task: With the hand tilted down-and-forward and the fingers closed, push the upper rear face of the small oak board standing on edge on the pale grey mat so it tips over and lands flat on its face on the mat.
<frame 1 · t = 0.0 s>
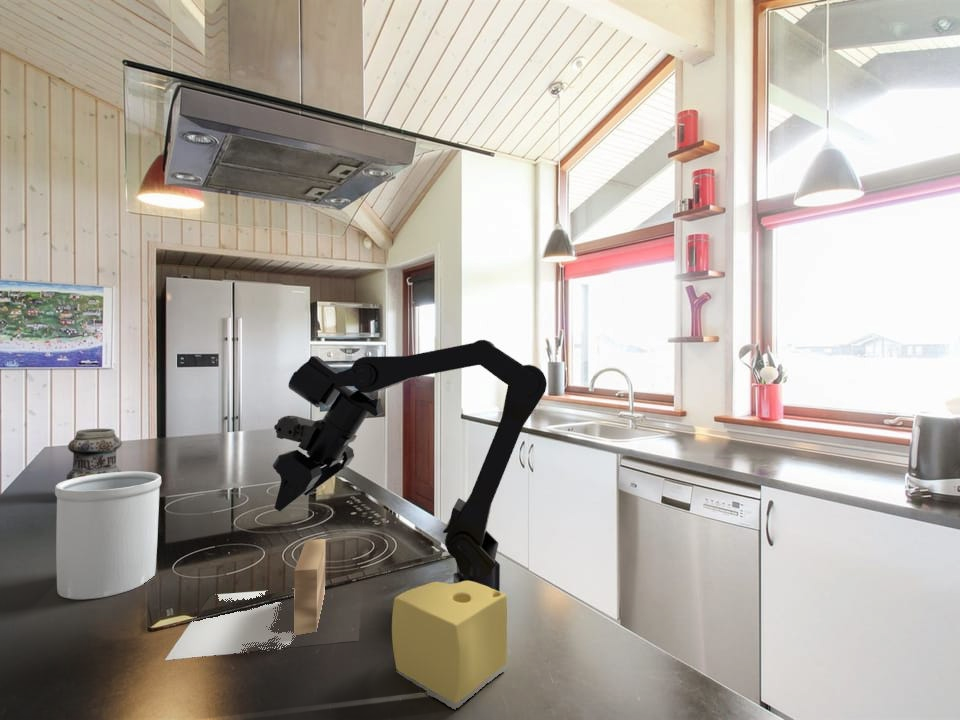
hand: (291, 501, 85), 15 cm above the countertop, tool tilted 35°, fingers open, 9 cm apart
utensil holder: (110, 582, 88), on the countertop
oak board: (310, 613, 77), resting on mat
apothecary jar: (94, 496, 141), on the countertop
mat: (278, 619, 76), on the countertop
cheese: (451, 677, 63), on the countertop
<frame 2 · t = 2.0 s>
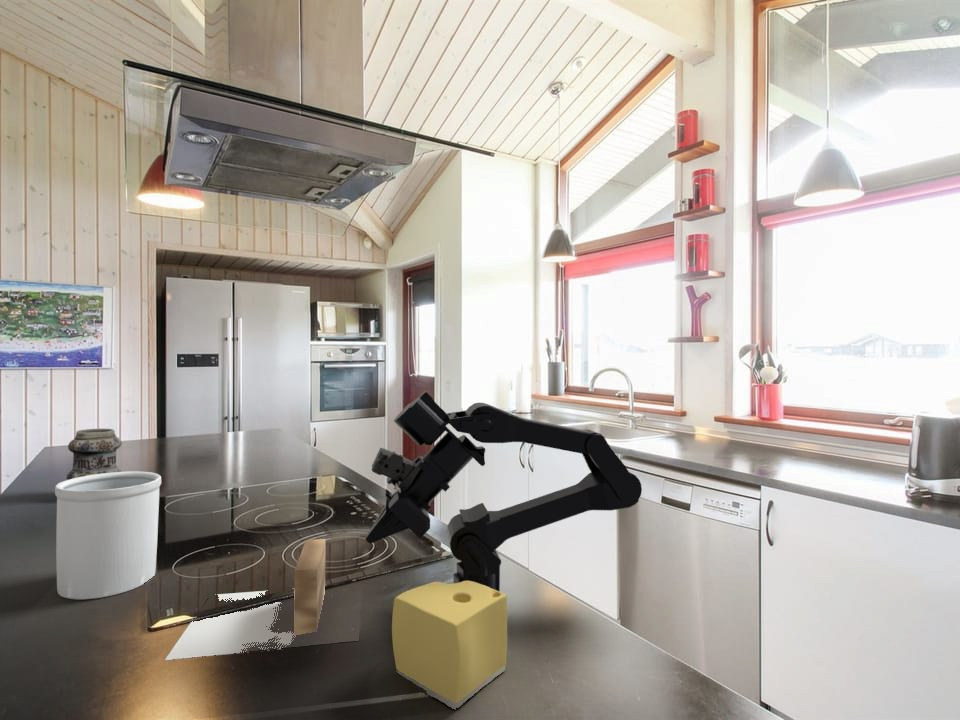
hand: (367, 541, 79), 11 cm above the countertop, tool tilted 45°, fingers closed
nothing on the countertop moved.
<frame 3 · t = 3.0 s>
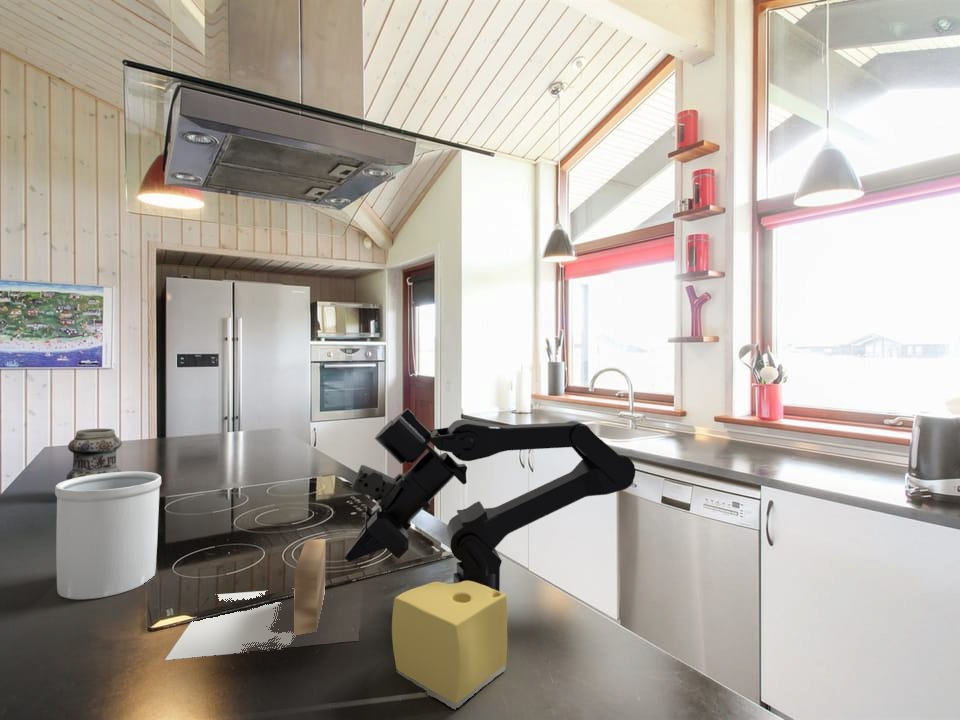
hand: (347, 559, 78), 8 cm above the countertop, tool tilted 45°, fingers closed
nothing on the countertop moved.
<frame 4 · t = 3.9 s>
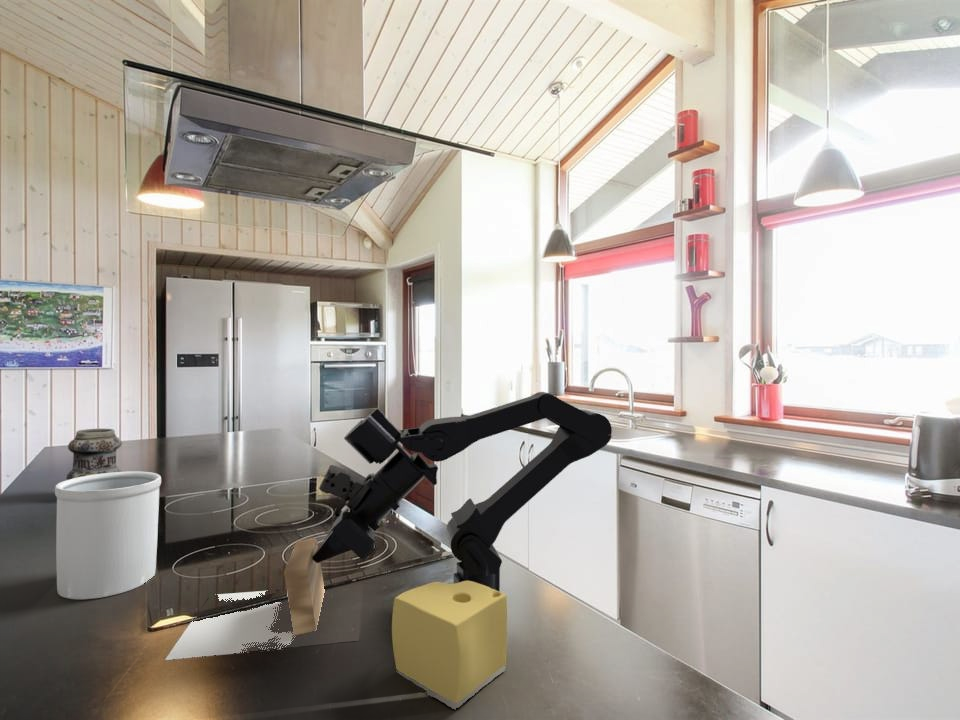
hand: (314, 560, 77), 8 cm above the countertop, tool tilted 45°, fingers closed
oak board: (310, 611, 77), point 1 cm above the countertop, tilted 9°, touching mat
everything else where it was.
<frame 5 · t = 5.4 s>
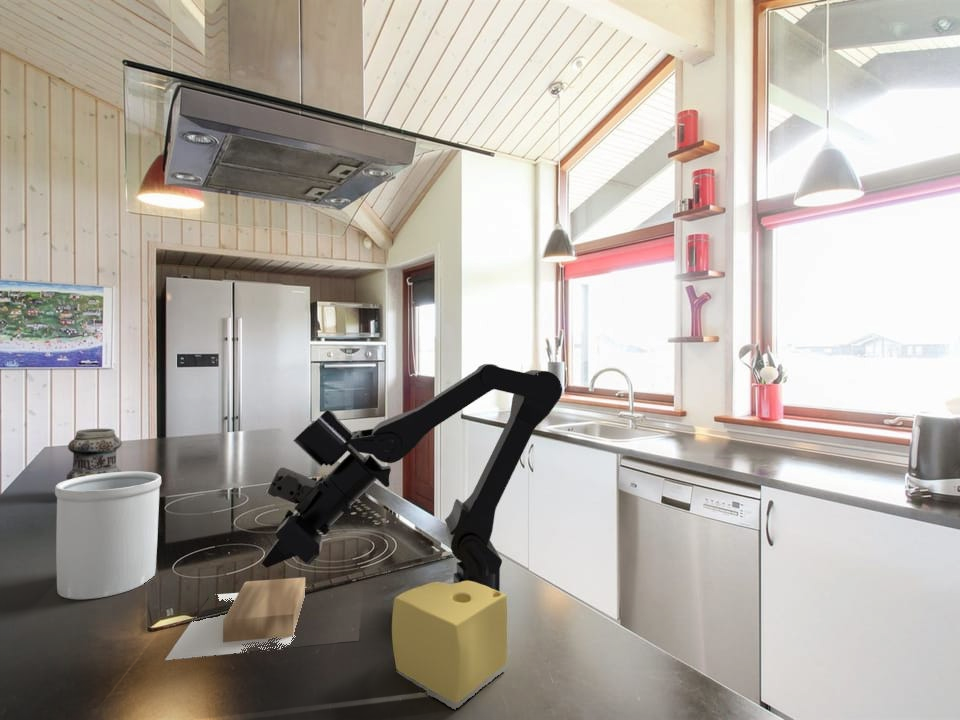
hand: (264, 564, 76), 8 cm above the countertop, tool tilted 45°, fingers closed
oak board: (299, 604, 77), point 2 cm above the countertop, tilted 90°, touching mat
everything else where it was.
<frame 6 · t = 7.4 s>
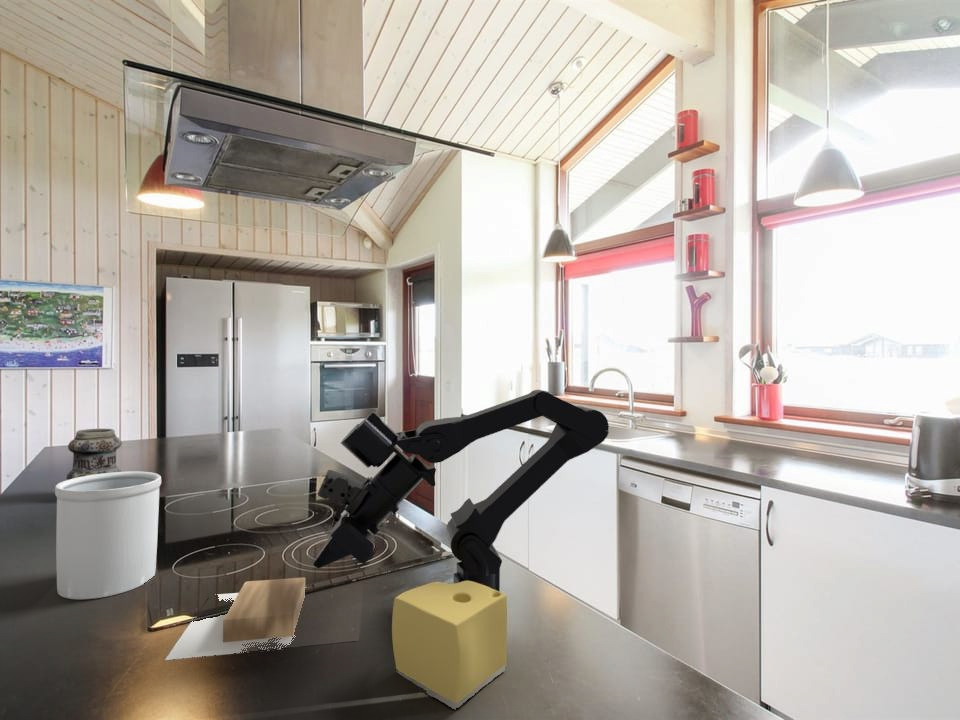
hand: (315, 565, 77), 8 cm above the countertop, tool tilted 45°, fingers closed
nothing on the countertop moved.
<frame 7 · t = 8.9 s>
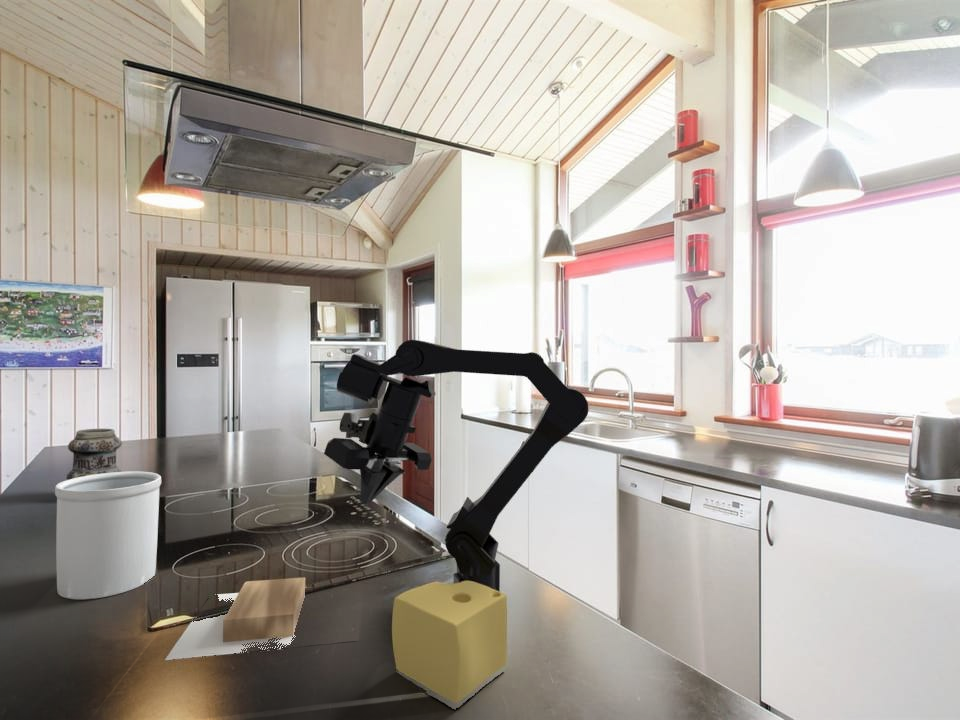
hand: (364, 503, 84), 15 cm above the countertop, tool tilted 20°, fingers closed
nothing on the countertop moved.
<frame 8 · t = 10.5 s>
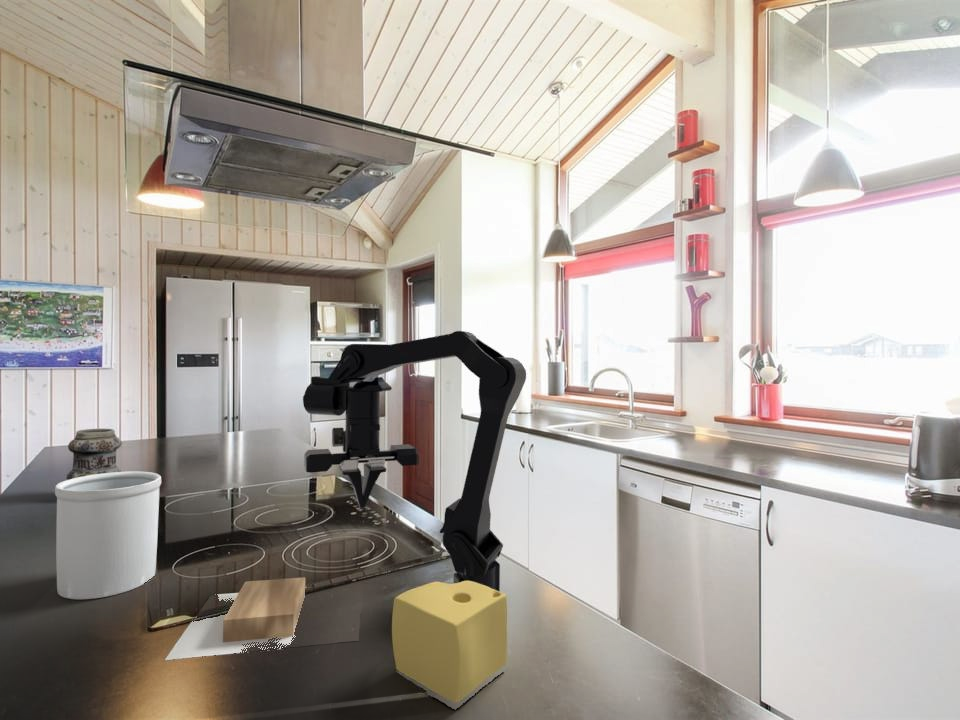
hand: (361, 507, 89), 13 cm above the countertop, tool pointing down, fingers closed
nothing on the countertop moved.
at the end: oak board tilted 90°; oak board inside the target area on the mat (3.1 cm from its centre), point 2.0 cm above the mat's base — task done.
